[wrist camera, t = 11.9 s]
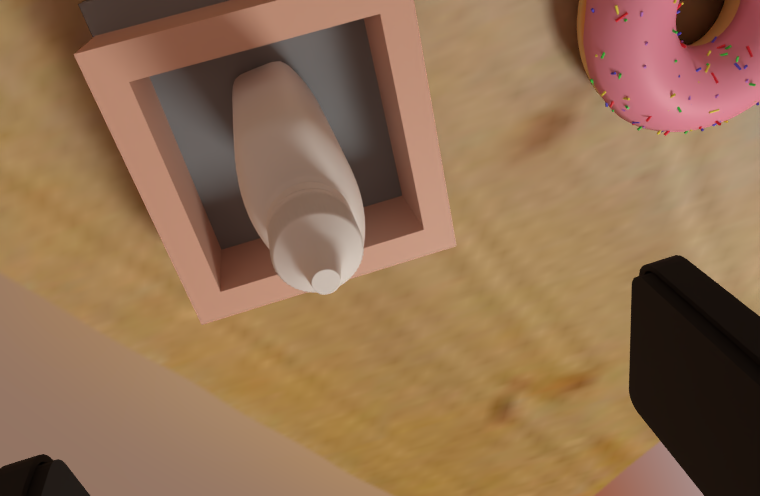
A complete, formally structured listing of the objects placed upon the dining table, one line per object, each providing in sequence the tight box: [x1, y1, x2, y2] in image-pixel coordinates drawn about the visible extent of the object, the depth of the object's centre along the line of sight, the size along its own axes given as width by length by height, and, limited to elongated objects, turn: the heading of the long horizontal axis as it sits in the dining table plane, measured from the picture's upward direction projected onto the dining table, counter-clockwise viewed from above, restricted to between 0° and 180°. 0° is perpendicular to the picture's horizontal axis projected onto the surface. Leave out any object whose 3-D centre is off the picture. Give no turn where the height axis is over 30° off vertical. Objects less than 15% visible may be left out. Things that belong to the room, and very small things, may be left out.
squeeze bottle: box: [232, 61, 365, 294], centre depth 19 cm, size 4×6×12 cm
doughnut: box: [577, 0, 760, 136], centre depth 25 cm, size 11×11×4 cm
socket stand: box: [74, 0, 456, 325], centre depth 23 cm, size 13×11×4 cm
